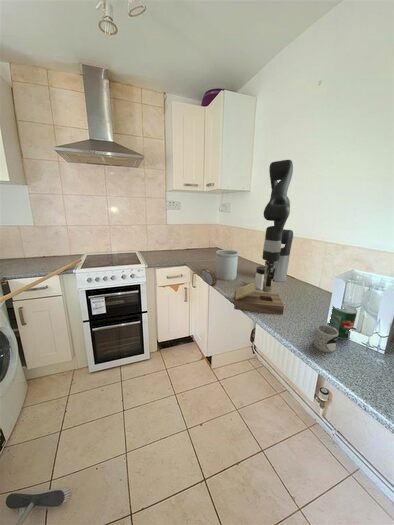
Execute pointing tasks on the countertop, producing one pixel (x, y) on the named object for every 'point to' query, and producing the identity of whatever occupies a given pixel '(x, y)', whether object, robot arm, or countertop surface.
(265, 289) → the peg
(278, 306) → the block
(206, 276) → the brown oval frame
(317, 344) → the mug
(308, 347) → the countertop surface
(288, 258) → the robot arm
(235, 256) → the utensil holder
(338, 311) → the canned tomato
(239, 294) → the latch flap
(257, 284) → the jar
